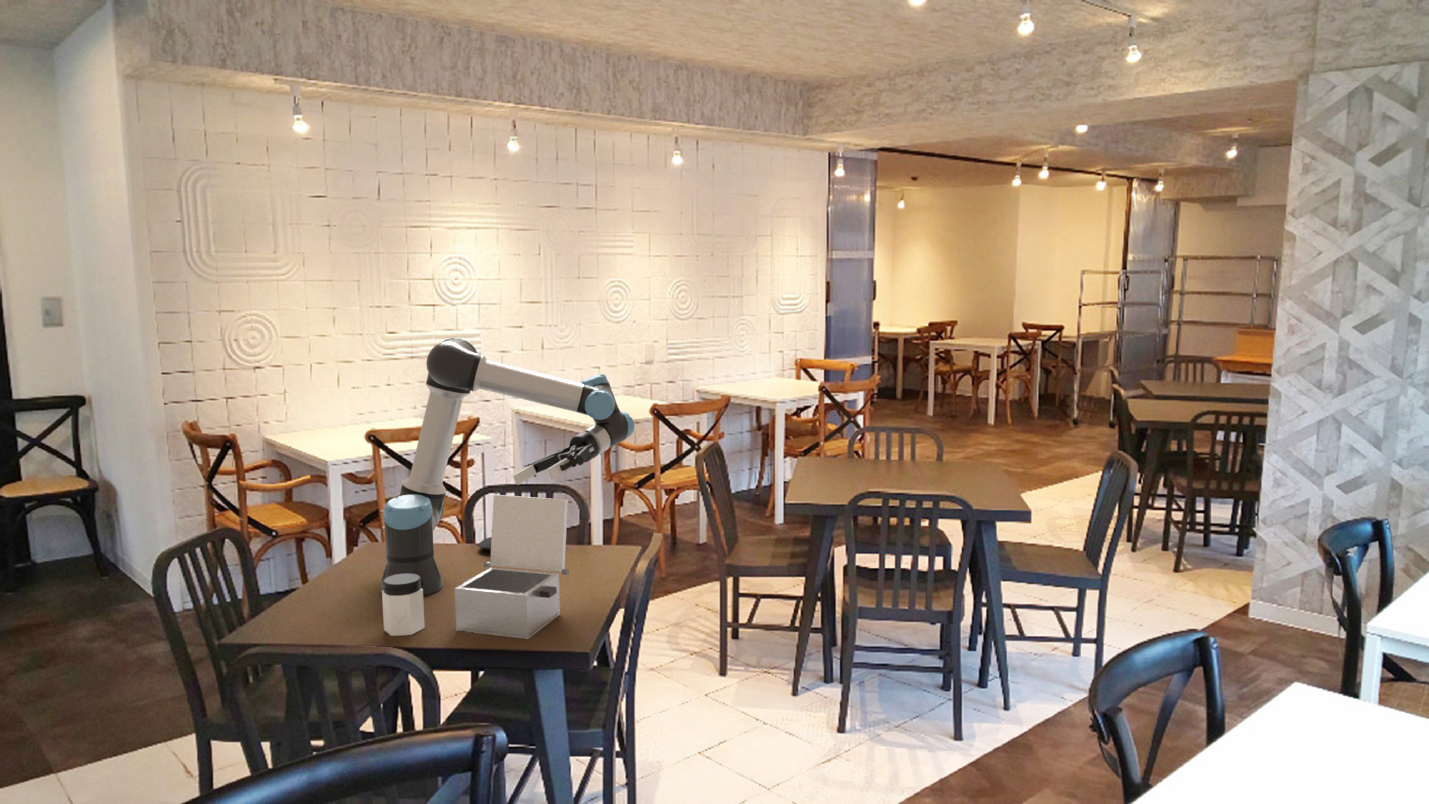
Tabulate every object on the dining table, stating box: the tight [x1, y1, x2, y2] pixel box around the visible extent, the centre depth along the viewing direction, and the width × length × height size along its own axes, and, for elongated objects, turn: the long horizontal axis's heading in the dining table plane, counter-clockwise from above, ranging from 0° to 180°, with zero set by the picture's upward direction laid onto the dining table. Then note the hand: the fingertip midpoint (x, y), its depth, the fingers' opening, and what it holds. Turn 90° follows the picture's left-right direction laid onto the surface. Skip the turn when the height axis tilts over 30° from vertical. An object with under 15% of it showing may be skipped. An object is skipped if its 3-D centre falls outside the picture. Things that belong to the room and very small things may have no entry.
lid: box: [489, 494, 569, 573], centre depth 232 cm, size 17×19×3 cm
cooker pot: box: [454, 561, 570, 640], centre depth 223 cm, size 18×23×11 cm
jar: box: [381, 573, 425, 637], centre depth 219 cm, size 9×8×12 cm
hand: (532, 477), depth 239 cm, fingers open, 13 cm apart
